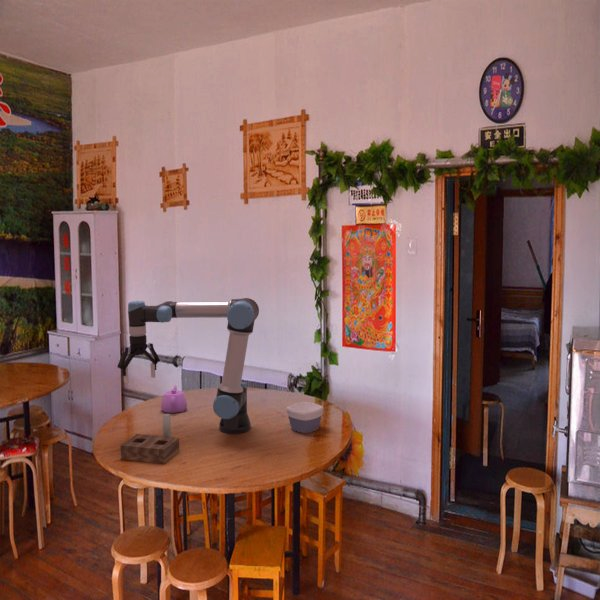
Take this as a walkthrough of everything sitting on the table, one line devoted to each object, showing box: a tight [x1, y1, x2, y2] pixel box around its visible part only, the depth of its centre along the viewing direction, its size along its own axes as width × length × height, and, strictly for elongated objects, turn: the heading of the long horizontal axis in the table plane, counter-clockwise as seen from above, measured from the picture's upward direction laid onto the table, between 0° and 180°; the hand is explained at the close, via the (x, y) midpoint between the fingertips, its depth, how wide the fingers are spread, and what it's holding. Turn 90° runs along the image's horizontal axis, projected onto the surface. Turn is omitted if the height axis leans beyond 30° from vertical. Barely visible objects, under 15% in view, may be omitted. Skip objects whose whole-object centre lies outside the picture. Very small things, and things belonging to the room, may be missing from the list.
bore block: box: [119, 433, 180, 465], centre depth 253 cm, size 20×14×6 cm
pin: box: [162, 413, 172, 437], centre depth 264 cm, size 3×3×14 cm
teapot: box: [160, 384, 188, 414], centre depth 315 cm, size 13×20×11 cm
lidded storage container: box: [286, 401, 324, 434], centre depth 286 cm, size 15×15×11 cm
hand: (139, 380), depth 275 cm, fingers open, 13 cm apart
